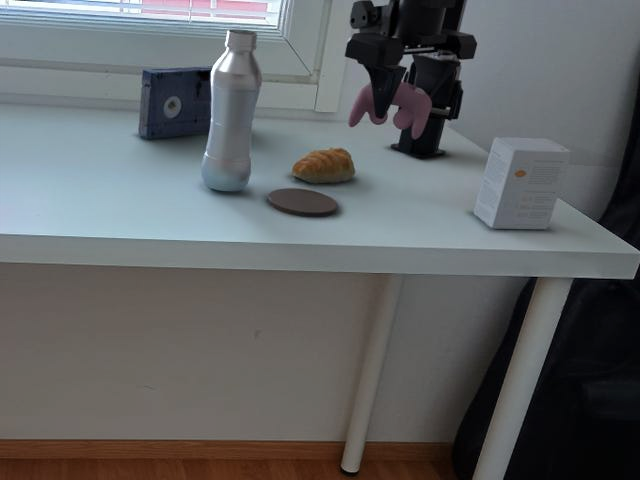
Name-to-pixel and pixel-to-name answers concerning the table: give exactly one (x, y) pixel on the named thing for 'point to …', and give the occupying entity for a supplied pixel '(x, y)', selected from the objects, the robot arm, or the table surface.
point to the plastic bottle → (232, 113)
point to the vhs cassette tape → (175, 102)
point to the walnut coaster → (302, 202)
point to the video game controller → (406, 97)
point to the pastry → (325, 166)
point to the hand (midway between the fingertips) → (397, 115)
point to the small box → (521, 183)
